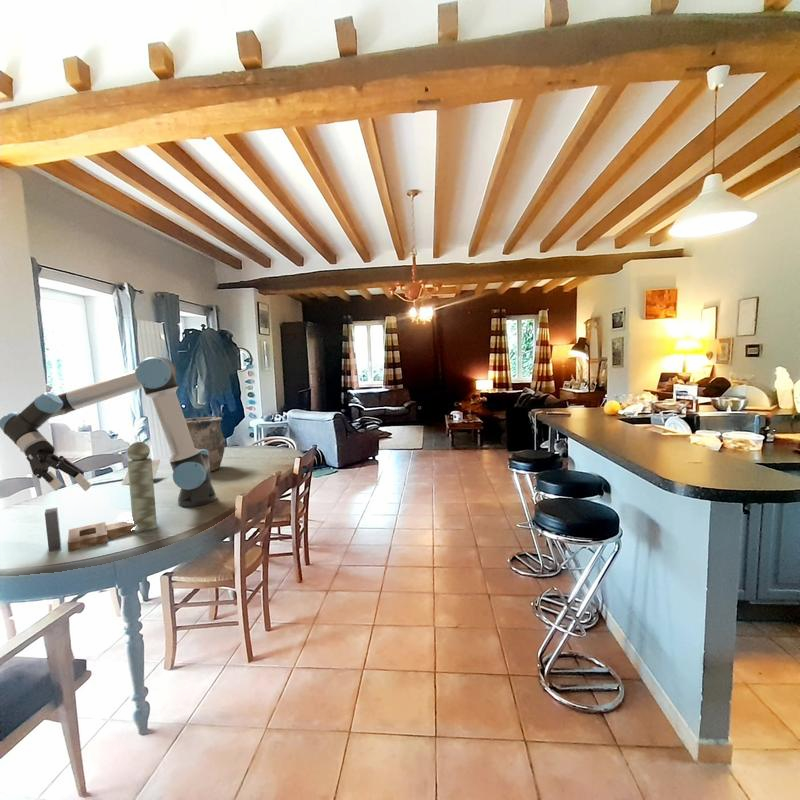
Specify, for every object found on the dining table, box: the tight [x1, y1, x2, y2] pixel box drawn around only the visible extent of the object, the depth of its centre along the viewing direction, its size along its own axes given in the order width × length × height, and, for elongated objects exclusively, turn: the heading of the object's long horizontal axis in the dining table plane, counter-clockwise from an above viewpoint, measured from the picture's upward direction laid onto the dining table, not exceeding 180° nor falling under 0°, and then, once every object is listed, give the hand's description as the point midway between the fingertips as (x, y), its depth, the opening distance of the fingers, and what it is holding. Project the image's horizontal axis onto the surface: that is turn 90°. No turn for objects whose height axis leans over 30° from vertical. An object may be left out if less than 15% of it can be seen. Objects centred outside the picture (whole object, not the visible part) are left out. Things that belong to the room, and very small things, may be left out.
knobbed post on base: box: [67, 441, 158, 553], centre depth 147 cm, size 26×14×32 cm, turn 128°
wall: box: [121, 459, 161, 486], centre depth 219 cm, size 16×9×15 cm
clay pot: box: [185, 416, 226, 473], centre depth 234 cm, size 22×23×30 cm
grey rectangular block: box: [44, 507, 62, 552], centre depth 138 cm, size 3×5×13 cm, turn 38°
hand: (74, 487), depth 144 cm, fingers open, 13 cm apart
